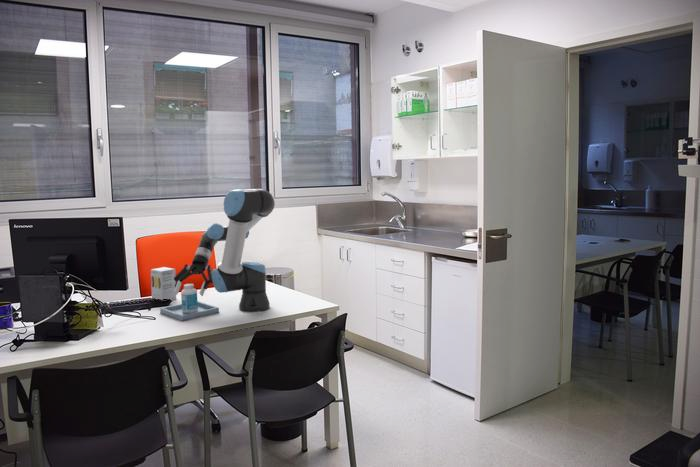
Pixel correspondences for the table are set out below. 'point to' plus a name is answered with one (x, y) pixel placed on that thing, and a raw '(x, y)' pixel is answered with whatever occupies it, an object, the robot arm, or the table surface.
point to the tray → (179, 315)
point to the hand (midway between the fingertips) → (188, 294)
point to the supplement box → (163, 283)
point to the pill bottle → (189, 299)
